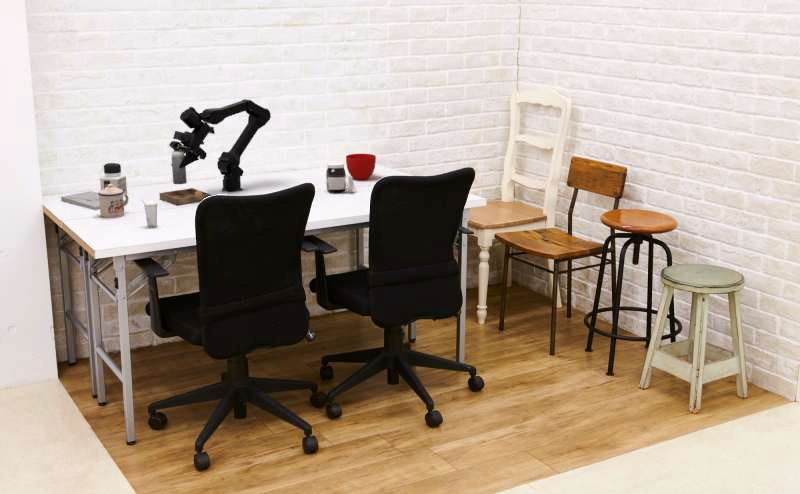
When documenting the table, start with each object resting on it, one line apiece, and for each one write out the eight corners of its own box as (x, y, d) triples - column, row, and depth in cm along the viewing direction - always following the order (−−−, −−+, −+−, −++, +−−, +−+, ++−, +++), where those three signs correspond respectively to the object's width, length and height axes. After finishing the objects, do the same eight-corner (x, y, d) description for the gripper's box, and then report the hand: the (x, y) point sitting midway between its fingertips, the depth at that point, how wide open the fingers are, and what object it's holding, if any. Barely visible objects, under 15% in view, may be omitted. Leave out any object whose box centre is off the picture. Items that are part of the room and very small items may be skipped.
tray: (192, 194, 421) (192, 188, 421) (210, 200, 411) (210, 194, 410) (159, 199, 413) (159, 193, 412) (177, 205, 402) (176, 199, 401)
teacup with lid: (109, 219, 380) (107, 188, 377) (94, 215, 386) (92, 184, 383) (136, 213, 389) (134, 182, 386) (121, 209, 395) (119, 179, 392)
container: (118, 197, 416) (116, 165, 412) (101, 196, 417) (98, 164, 414) (127, 193, 423) (125, 162, 419) (109, 192, 424) (107, 161, 421)
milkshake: (144, 224, 372) (142, 197, 369) (159, 224, 372) (157, 197, 370) (142, 227, 368) (140, 200, 365) (157, 227, 368) (156, 199, 366)
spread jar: (324, 189, 431) (324, 161, 428) (351, 188, 433) (351, 160, 430) (330, 195, 419) (329, 167, 416) (357, 194, 422) (357, 165, 419)
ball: (200, 197, 413) (200, 189, 412) (204, 198, 411) (203, 190, 410) (193, 198, 411) (192, 190, 410) (197, 199, 409) (196, 191, 408)
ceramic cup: (381, 174, 460) (381, 152, 458) (371, 182, 444) (371, 159, 442) (353, 173, 463) (352, 151, 460) (342, 181, 447) (342, 158, 445)
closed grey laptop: (95, 211, 395) (126, 205, 404) (95, 206, 394) (126, 200, 404) (61, 201, 410) (91, 195, 420) (61, 196, 409) (91, 190, 419)
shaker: (178, 181, 414) (176, 150, 410) (189, 182, 411) (187, 151, 408) (170, 183, 409) (168, 152, 406) (180, 184, 407) (178, 153, 403)
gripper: (171, 120, 413) (149, 151, 408) (198, 125, 400) (175, 157, 396) (189, 137, 420) (168, 168, 416) (216, 143, 408) (194, 174, 403)
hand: (175, 167), depth 407 cm, fingers closed on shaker, 5 cm apart
